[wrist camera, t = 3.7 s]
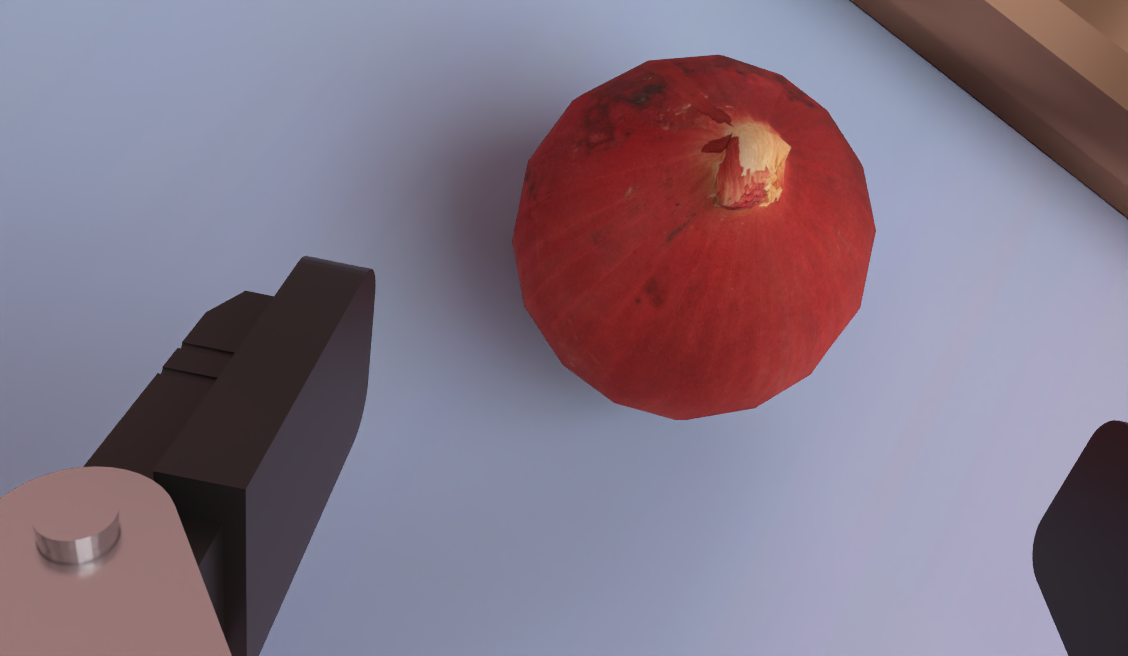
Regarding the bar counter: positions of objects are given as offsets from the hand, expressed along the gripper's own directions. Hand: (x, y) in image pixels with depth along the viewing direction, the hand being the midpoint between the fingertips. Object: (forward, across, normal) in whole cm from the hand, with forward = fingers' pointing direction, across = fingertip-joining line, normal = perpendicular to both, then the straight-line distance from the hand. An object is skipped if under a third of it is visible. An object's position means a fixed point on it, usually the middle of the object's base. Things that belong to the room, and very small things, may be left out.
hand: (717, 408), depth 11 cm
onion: (+8, 0, +4) cm, 9 cm away
